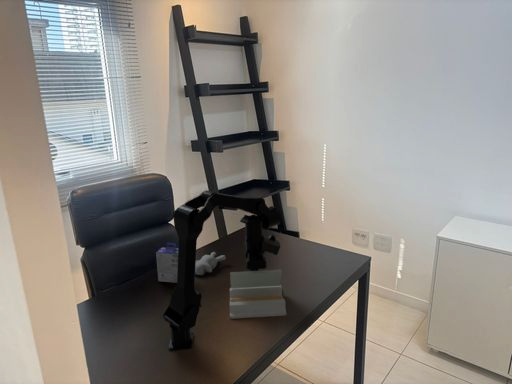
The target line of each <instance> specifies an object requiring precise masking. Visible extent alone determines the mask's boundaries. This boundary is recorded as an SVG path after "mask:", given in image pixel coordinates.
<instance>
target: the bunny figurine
mask: <svg viewBox="0 0 512 384" xmlns="http://www.w3.org/2000/svg"><path fill="white" fill-rule="evenodd" d="M216 255H217V252H215V251H212V252H211V253H210V255H209V254H205V255H202V257H201V258H200V259H198V260H197V259H196V264H195V276H199V275H200V276H204V275H205V273H212V272H213V270H214V269H215V268H216V267H217V265H218V262H221V261H224V260H226V259H227V258H226V255H224V254H223V255H222V254H221V255H220V256H217V257H215V256H216Z"/></svg>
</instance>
